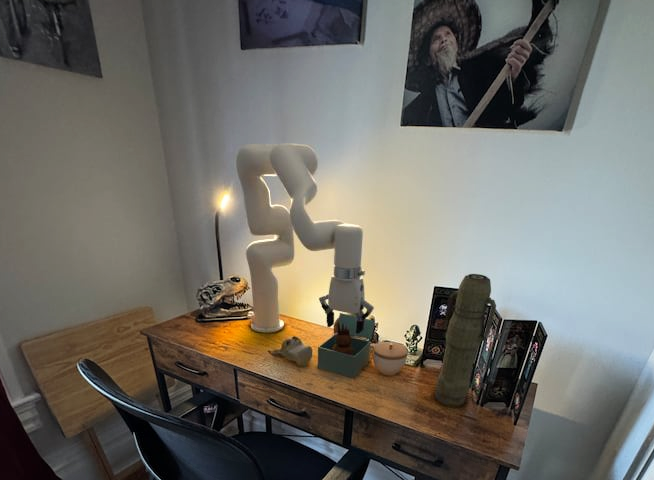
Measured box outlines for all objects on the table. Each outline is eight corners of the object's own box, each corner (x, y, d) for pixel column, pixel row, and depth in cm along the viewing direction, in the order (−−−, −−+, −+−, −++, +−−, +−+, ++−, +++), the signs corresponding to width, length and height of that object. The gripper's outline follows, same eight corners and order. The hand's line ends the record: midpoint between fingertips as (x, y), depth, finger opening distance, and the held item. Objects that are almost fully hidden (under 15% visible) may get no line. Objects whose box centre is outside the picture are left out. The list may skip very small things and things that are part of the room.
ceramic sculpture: (297, 347, 112) (264, 335, 121) (298, 373, 117) (267, 359, 125) (321, 337, 120) (289, 326, 128) (322, 361, 124) (290, 349, 132)
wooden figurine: (329, 368, 120) (331, 324, 112) (333, 360, 125) (335, 317, 117) (351, 371, 119) (353, 326, 111) (353, 362, 124) (356, 319, 116)
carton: (317, 367, 121) (317, 347, 117) (335, 352, 130) (336, 333, 127) (353, 377, 116) (355, 356, 112) (369, 361, 126) (371, 341, 122)
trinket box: (386, 359, 128) (389, 334, 123) (411, 371, 121) (415, 345, 116) (364, 369, 121) (366, 343, 116) (390, 383, 115) (393, 355, 110)
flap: (339, 312, 125) (340, 312, 125) (336, 331, 126) (336, 331, 126) (375, 320, 120) (375, 320, 121) (370, 339, 122) (371, 339, 122)
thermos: (435, 384, 115) (459, 268, 97) (474, 397, 110) (506, 277, 92) (424, 397, 108) (447, 275, 90) (464, 412, 103) (498, 285, 85)
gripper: (380, 273, 106) (375, 330, 115) (326, 265, 112) (325, 319, 121) (370, 280, 100) (366, 339, 109) (313, 270, 106) (313, 327, 115)
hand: (344, 328), depth 115 cm, fingers open, 9 cm apart
